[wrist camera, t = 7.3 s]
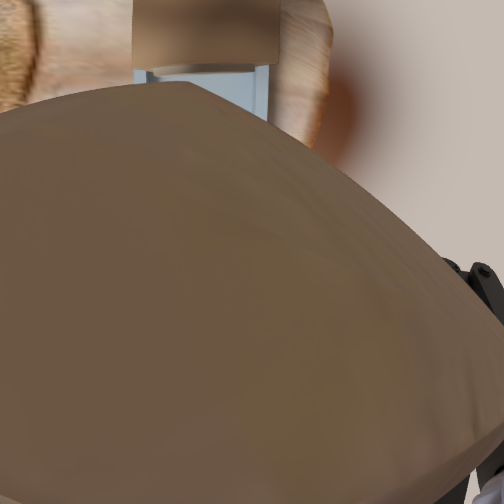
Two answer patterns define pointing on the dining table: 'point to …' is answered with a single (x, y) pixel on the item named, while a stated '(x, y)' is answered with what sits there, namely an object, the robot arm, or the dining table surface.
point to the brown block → (204, 36)
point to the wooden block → (222, 317)
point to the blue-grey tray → (226, 87)
